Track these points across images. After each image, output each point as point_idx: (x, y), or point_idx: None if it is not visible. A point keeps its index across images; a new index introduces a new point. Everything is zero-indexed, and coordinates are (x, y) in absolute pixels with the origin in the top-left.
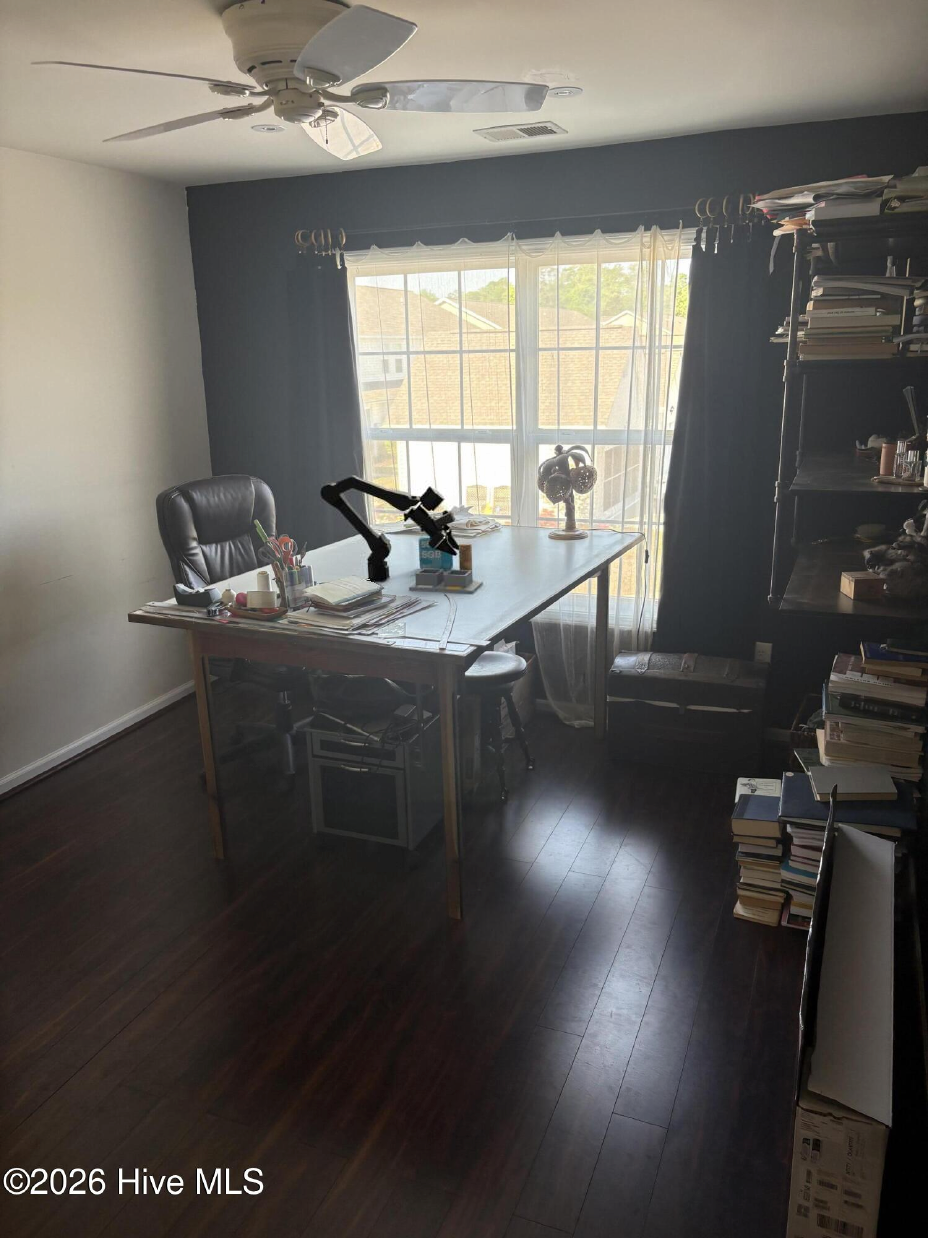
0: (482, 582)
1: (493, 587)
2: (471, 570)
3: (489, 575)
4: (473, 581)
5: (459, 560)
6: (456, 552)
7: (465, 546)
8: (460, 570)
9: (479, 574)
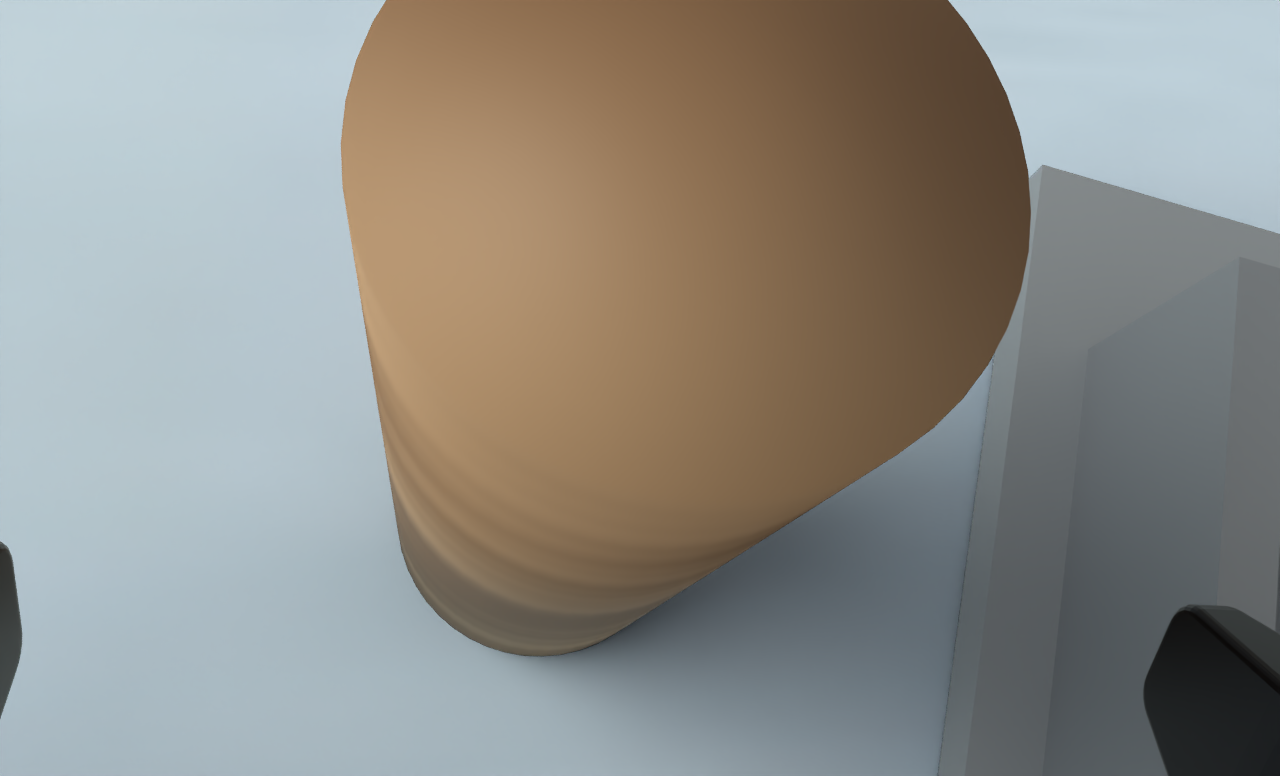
0: (1051, 174)
1: (1181, 30)
2: (1235, 276)
3: (301, 49)
4: (1040, 332)
5: (660, 596)
6: (1236, 629)
7: (1014, 163)
8: (1270, 548)
9: (180, 237)
